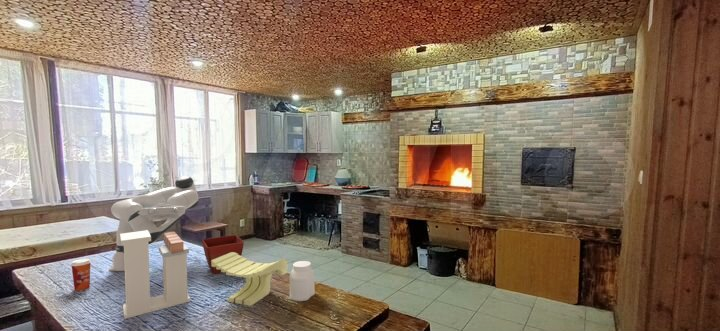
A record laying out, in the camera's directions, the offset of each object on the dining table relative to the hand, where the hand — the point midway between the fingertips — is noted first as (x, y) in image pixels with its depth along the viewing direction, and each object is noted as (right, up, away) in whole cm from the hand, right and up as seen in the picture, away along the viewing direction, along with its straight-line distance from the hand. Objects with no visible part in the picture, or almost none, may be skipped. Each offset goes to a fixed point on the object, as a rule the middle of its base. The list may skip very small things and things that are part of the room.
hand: (165, 210), depth 159 cm
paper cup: (-41, -39, -1) cm, 56 cm away
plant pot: (+19, -38, +23) cm, 48 cm away
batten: (+12, -15, -14) cm, 24 cm away
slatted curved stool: (+47, -39, -11) cm, 62 cm away
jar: (+71, -39, -11) cm, 81 cm away
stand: (+8, -39, -19) cm, 44 cm away
